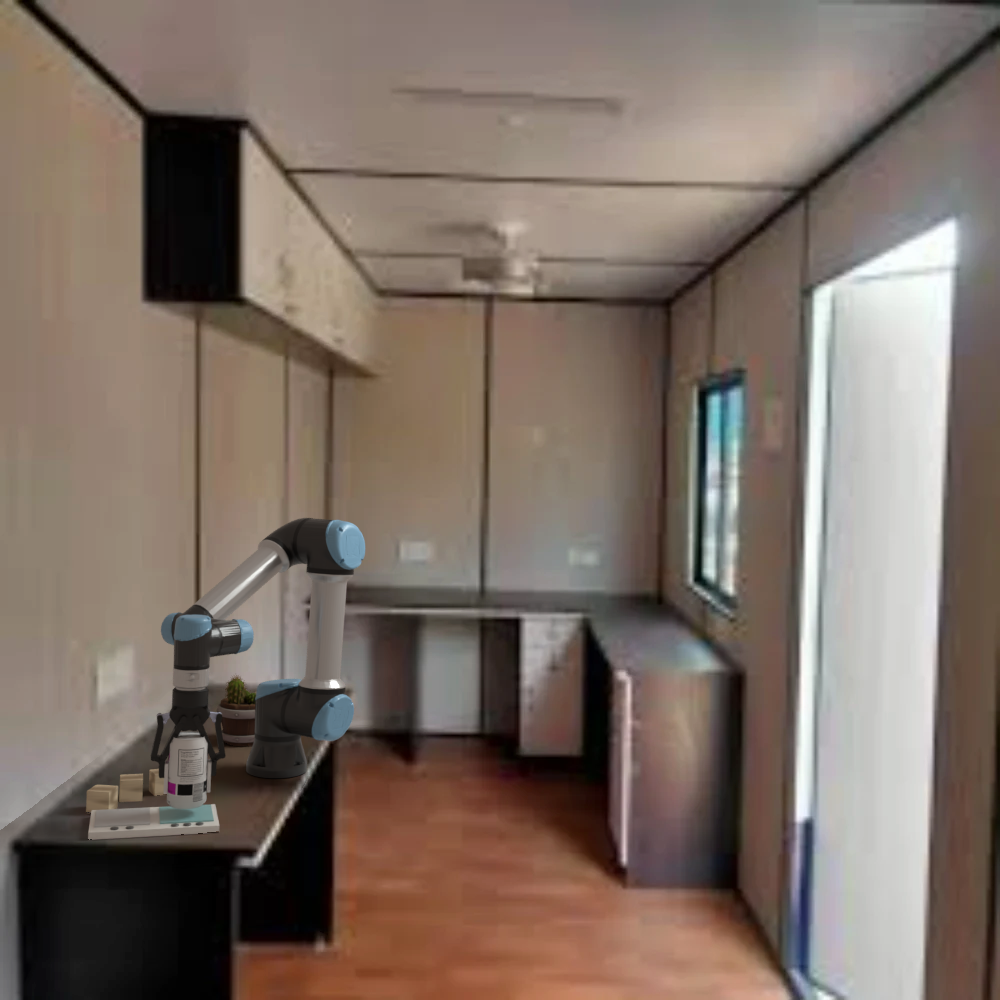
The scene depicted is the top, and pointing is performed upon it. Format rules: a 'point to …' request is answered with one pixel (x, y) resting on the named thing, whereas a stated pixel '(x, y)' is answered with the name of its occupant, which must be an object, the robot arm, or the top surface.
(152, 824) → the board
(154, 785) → the maple block
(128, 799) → the maple block
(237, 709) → the flowerpot
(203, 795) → the supplement can
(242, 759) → the top surface
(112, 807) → the maple block
